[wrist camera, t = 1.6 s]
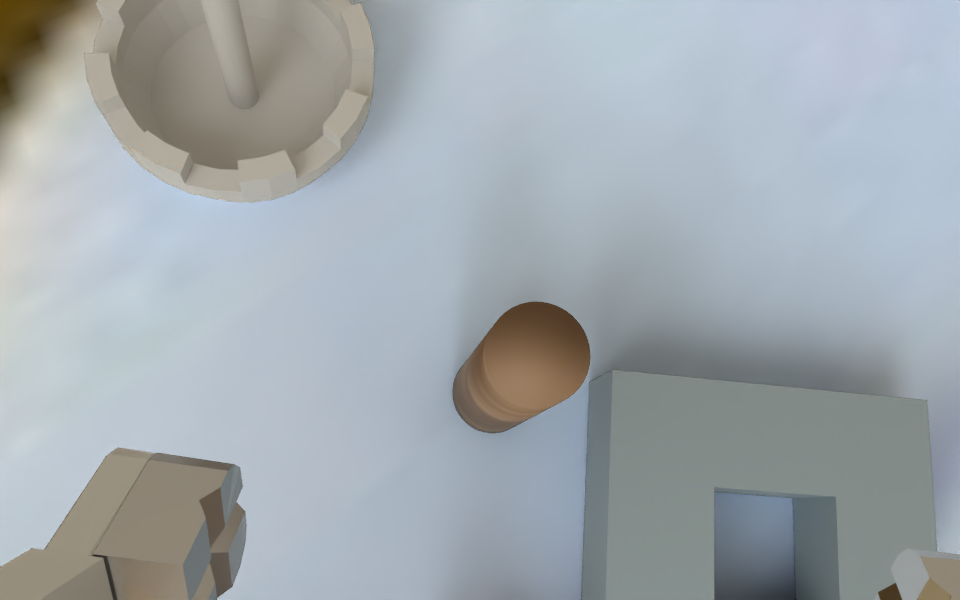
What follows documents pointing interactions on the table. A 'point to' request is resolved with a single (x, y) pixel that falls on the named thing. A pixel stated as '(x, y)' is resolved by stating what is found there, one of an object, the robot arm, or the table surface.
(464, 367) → the long pin
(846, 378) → the table surface
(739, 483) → the bored board
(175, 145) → the flag stand
